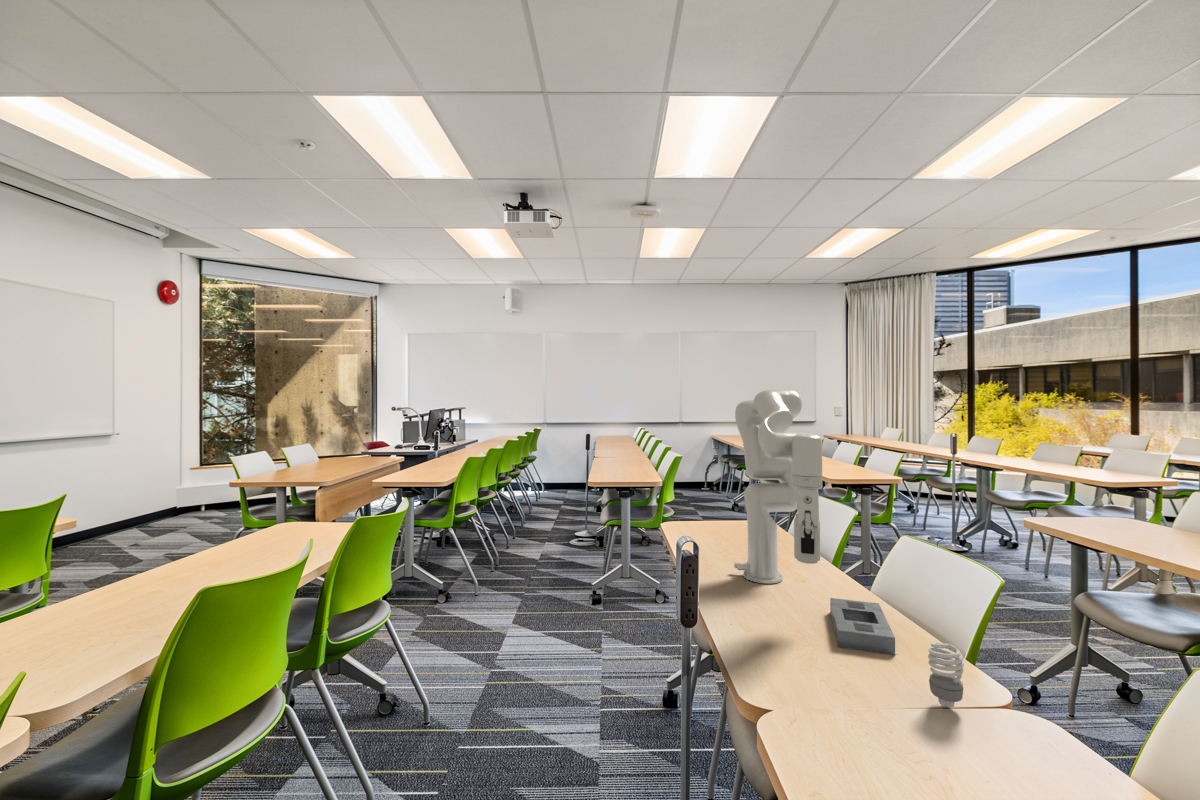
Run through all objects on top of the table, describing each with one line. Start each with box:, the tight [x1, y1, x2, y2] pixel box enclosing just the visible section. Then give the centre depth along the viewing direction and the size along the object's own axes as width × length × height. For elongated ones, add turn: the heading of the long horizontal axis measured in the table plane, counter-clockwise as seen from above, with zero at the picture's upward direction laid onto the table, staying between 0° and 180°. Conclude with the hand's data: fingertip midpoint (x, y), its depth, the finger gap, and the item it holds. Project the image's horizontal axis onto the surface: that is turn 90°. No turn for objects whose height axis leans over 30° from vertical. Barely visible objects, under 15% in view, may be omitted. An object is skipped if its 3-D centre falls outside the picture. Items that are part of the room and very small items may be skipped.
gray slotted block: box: [829, 597, 896, 656], centre depth 129 cm, size 12×22×4 cm, turn 160°
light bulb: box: [927, 641, 965, 709], centre depth 97 cm, size 6×6×12 cm
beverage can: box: [793, 513, 821, 565], centre depth 134 cm, size 6×6×12 cm
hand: (807, 549), depth 134 cm, fingers closed on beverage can, 6 cm apart
